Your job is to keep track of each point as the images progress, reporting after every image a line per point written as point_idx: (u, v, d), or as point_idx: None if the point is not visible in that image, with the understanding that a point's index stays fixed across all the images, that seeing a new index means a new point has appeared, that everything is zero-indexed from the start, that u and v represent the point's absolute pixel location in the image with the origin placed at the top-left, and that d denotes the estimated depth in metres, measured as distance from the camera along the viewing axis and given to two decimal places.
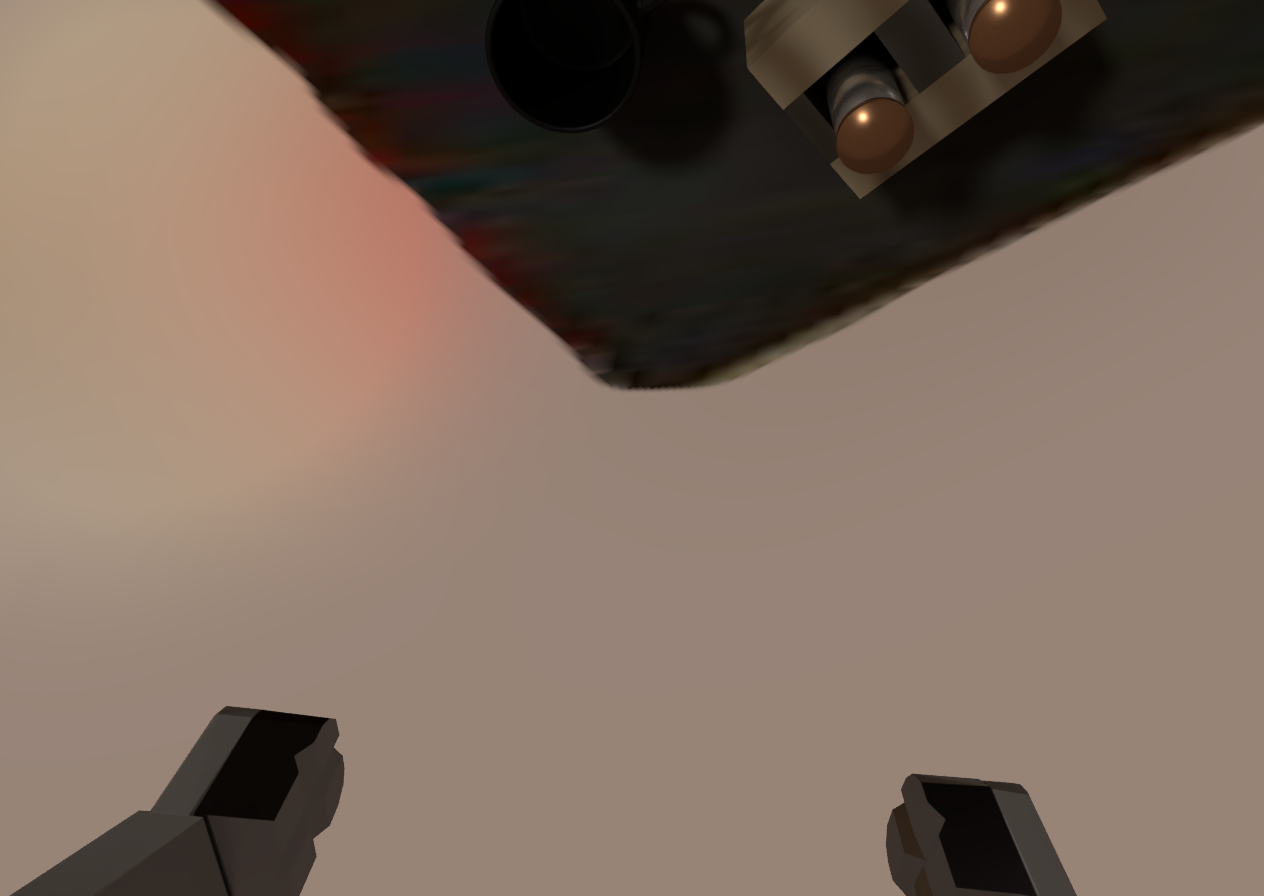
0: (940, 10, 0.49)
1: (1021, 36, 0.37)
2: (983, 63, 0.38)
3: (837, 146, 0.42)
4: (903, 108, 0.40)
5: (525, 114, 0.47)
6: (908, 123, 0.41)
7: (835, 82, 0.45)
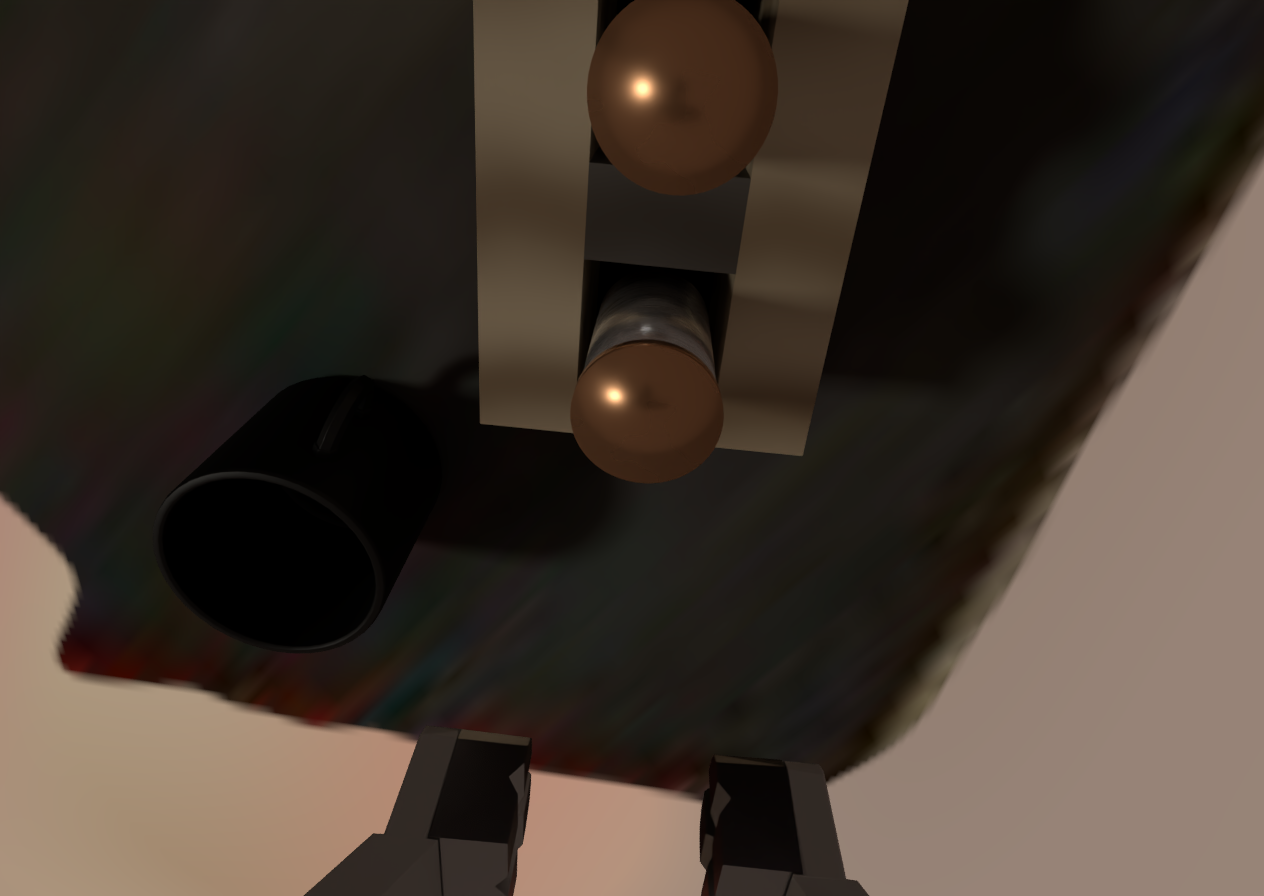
0: None
1: (704, 94, 0.16)
2: (689, 186, 0.17)
3: (603, 468, 0.21)
4: (639, 347, 0.19)
5: (296, 649, 0.32)
6: (674, 360, 0.19)
7: None
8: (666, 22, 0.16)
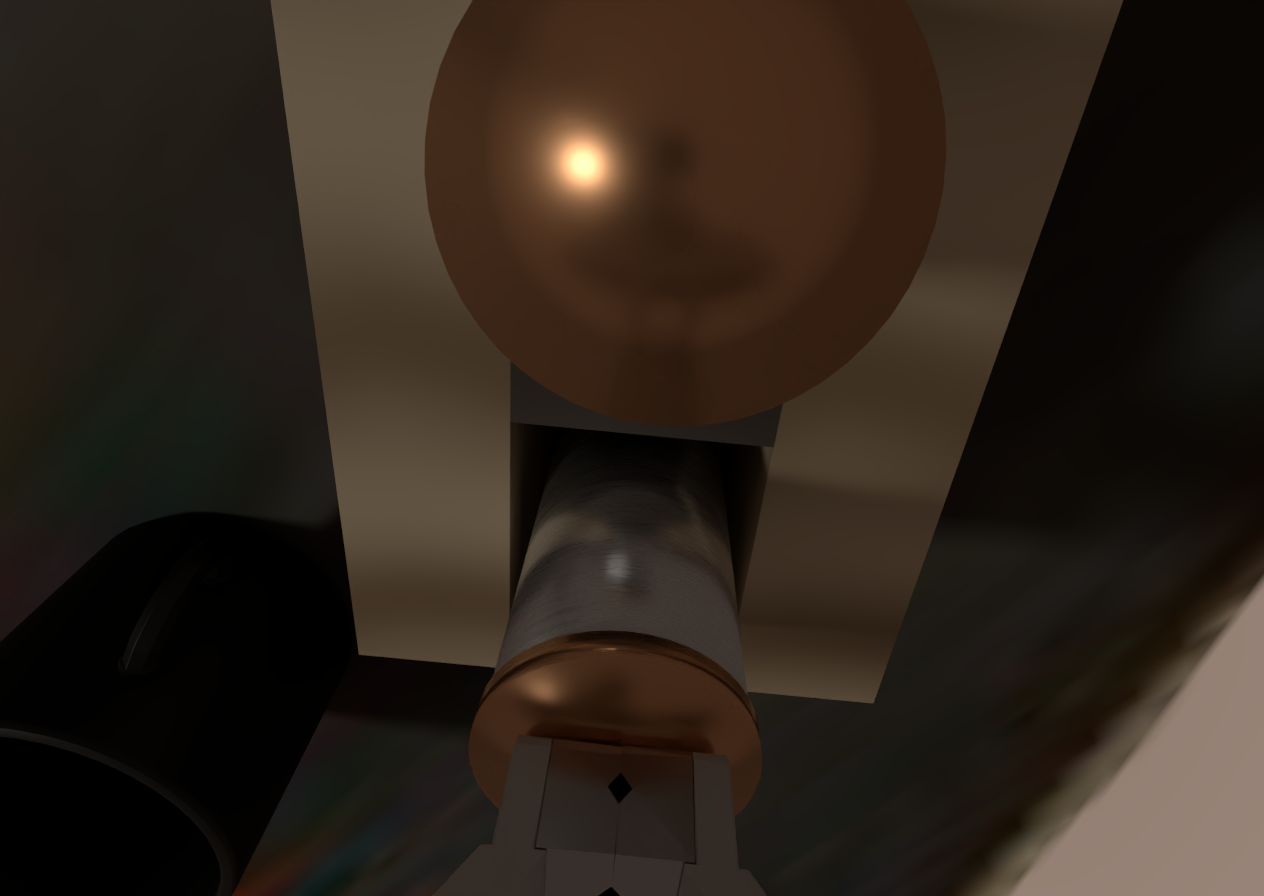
0: None
1: (742, 192, 0.06)
2: (698, 406, 0.07)
3: None
4: (595, 658, 0.10)
5: None
6: (665, 680, 0.10)
7: None
8: None
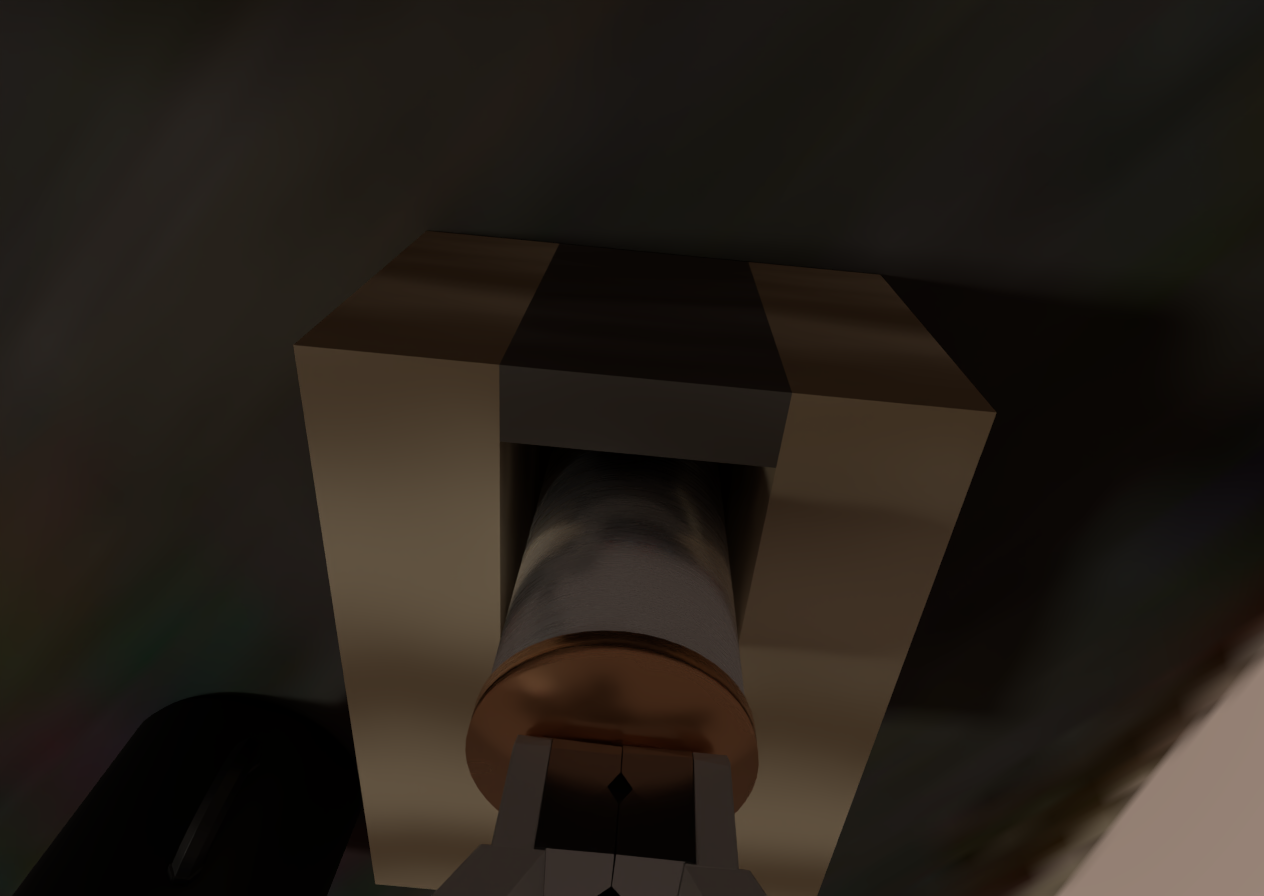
0: None
1: None
2: None
3: None
4: None
5: None
6: None
7: None
8: (582, 694, 0.10)
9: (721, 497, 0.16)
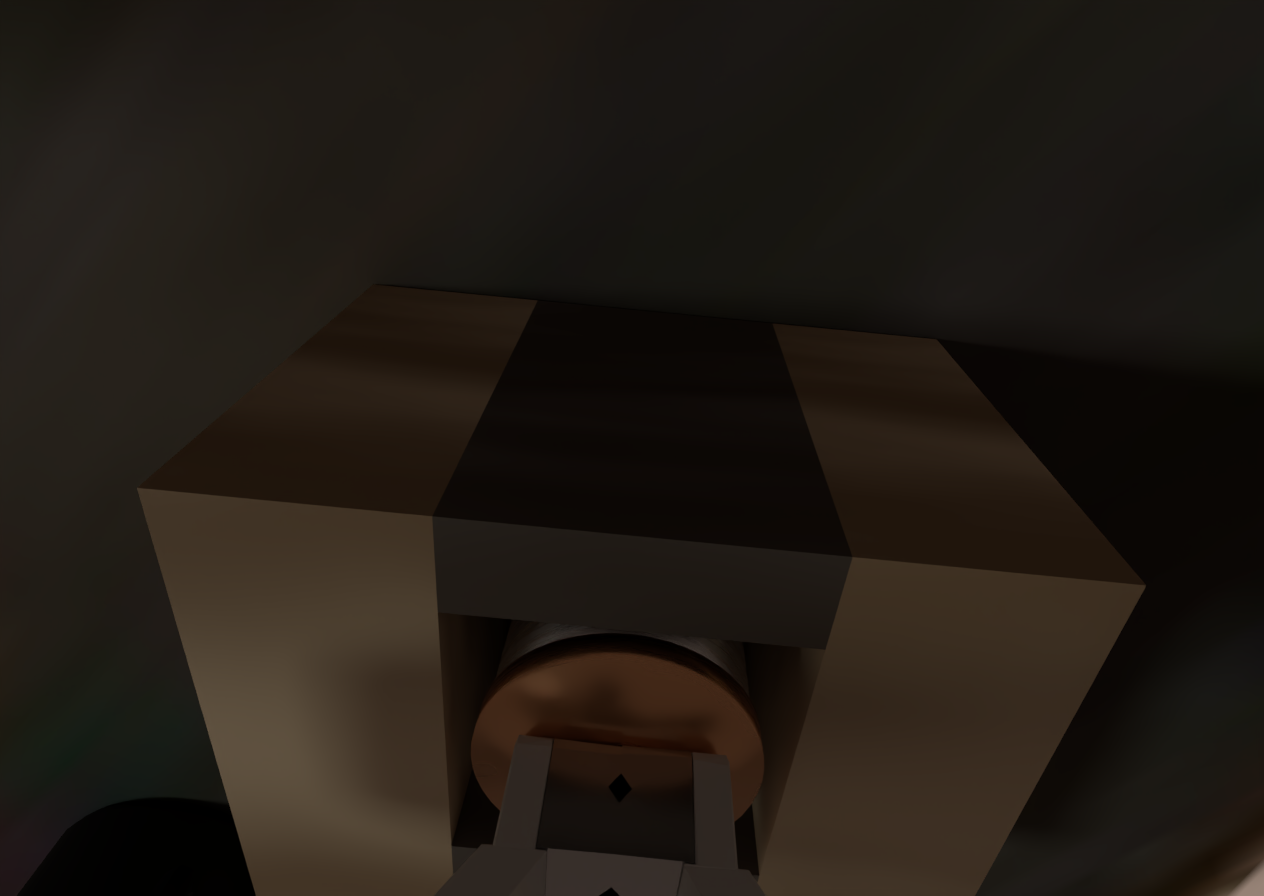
0: None
1: None
2: None
3: None
4: None
5: None
6: None
7: None
8: (587, 697, 0.10)
9: None
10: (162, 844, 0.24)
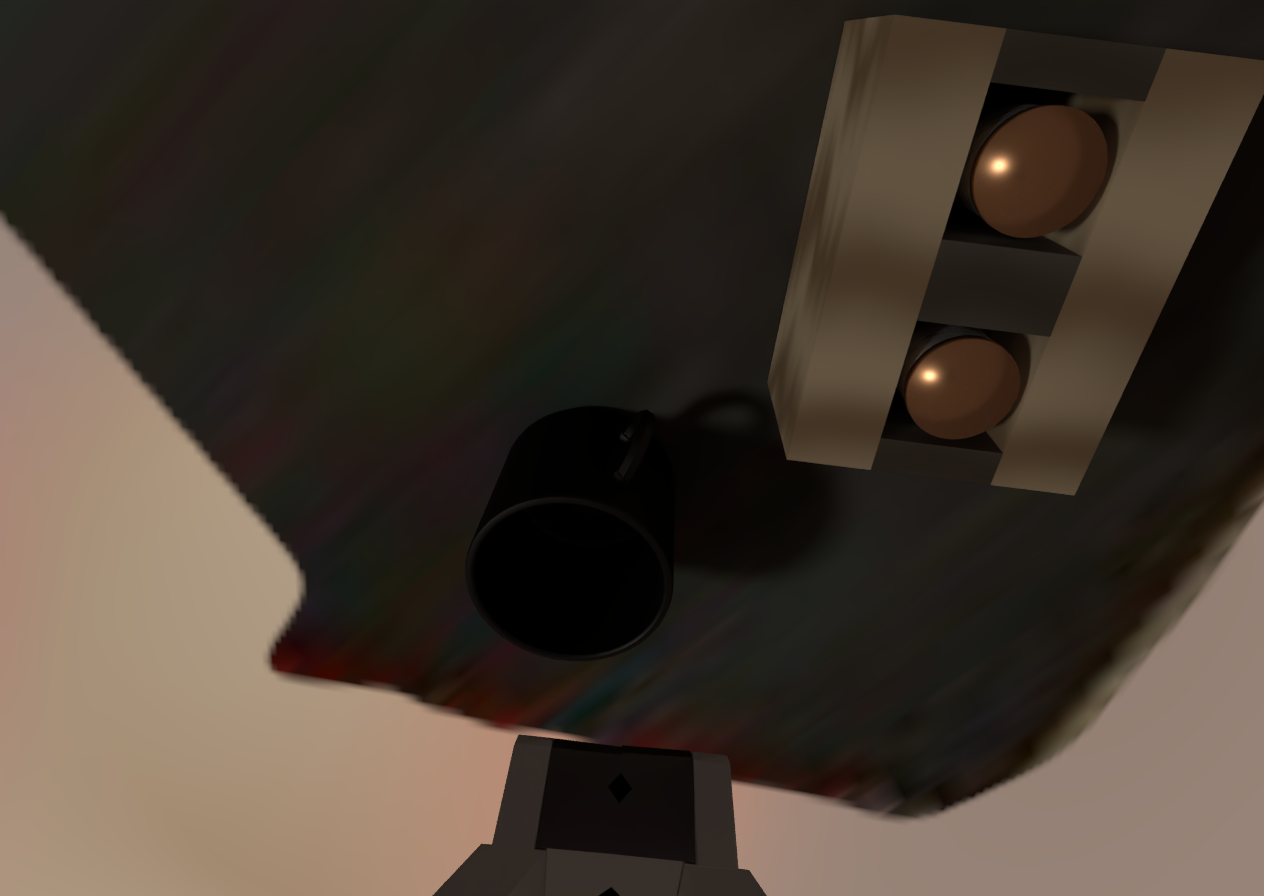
0: None
1: (1056, 172, 0.25)
2: (1031, 231, 0.26)
3: (921, 427, 0.30)
4: (969, 340, 0.28)
5: (573, 657, 0.35)
6: (992, 350, 0.28)
7: None
8: (1041, 128, 0.24)
9: None
10: (607, 421, 0.38)
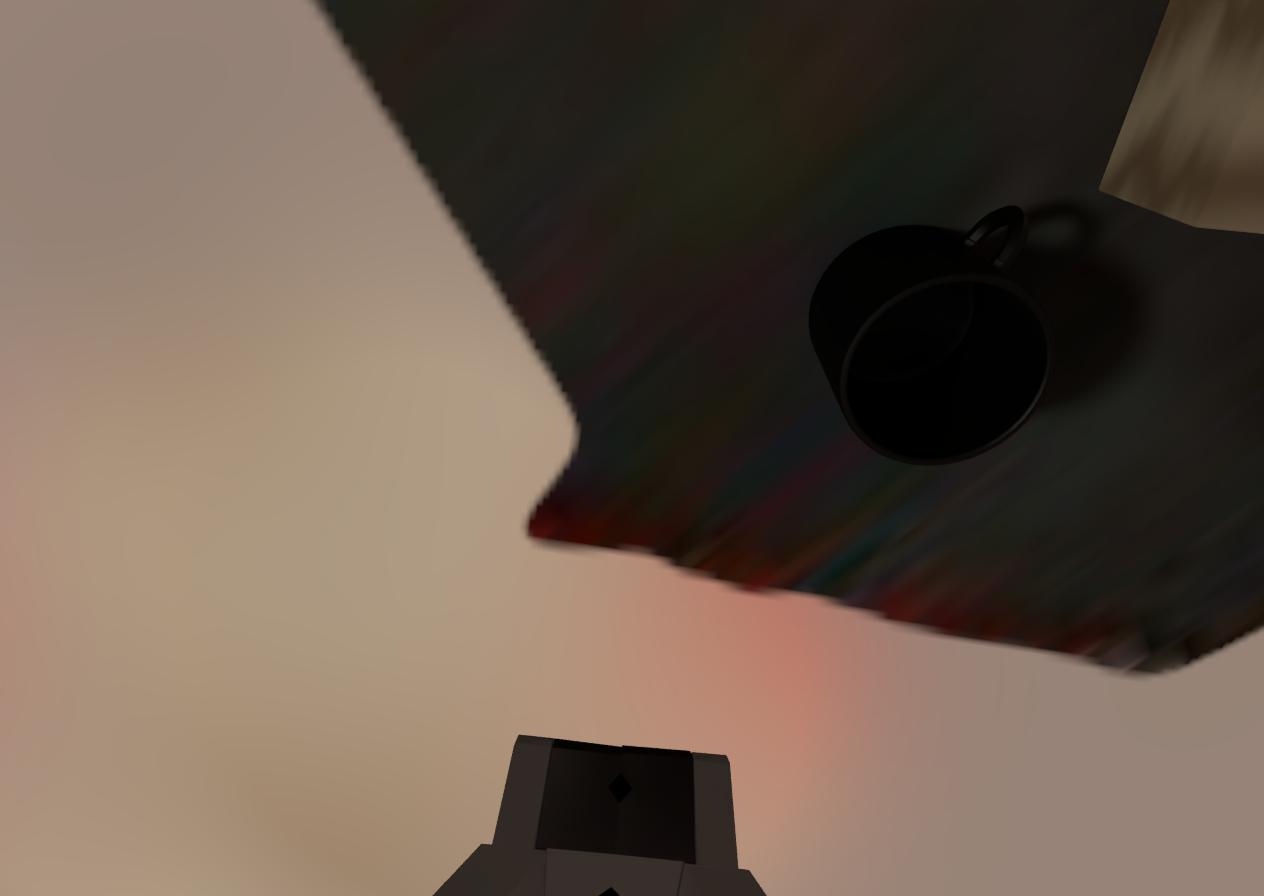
0: None
1: None
2: None
3: None
4: None
5: (930, 461, 0.35)
6: None
7: None
8: None
9: None
10: (939, 233, 0.37)
